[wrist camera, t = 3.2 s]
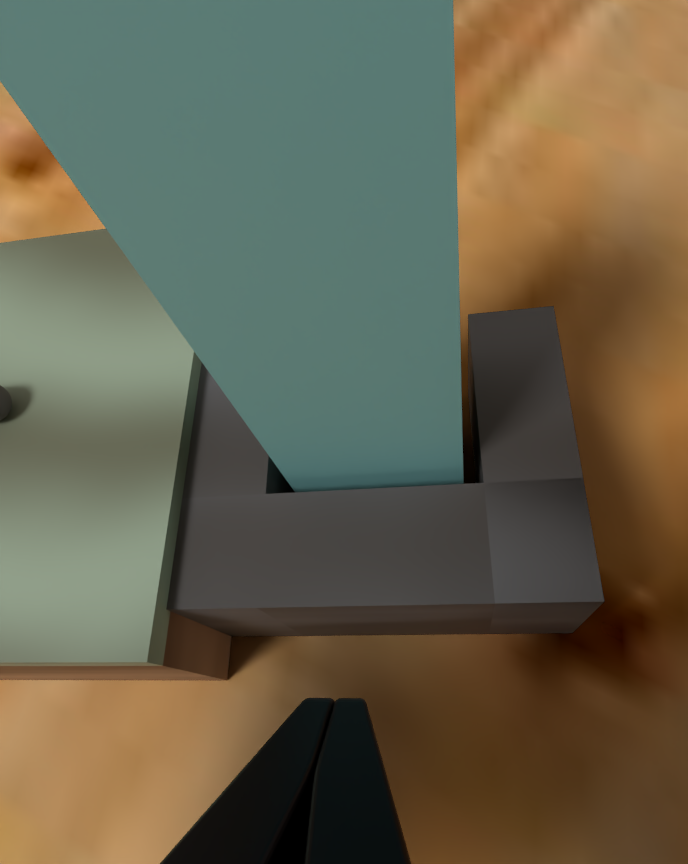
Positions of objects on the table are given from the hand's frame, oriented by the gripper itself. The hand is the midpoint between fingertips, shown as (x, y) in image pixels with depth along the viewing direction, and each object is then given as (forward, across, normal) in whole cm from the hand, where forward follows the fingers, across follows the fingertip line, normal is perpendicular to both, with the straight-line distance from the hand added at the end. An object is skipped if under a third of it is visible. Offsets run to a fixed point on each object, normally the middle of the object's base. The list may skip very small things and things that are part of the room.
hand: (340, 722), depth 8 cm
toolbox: (+10, +9, 0) cm, 13 cm away
